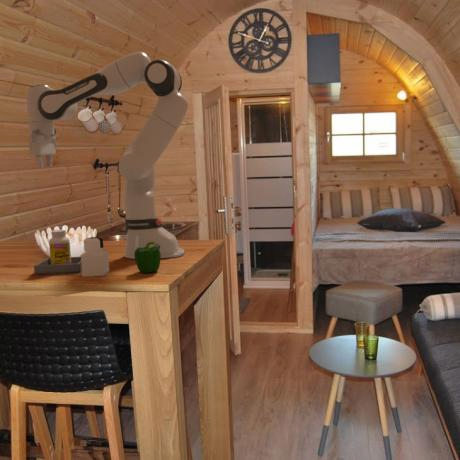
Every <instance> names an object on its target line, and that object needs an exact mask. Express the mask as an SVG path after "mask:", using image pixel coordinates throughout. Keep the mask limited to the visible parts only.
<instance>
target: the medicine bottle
mask: <svg viewBox="0 0 460 460" xmlns="http://www.w3.org/2000/svg"><path fill="white" fill-rule="evenodd" d="M83 248H84V253H82V254H81V255H80V257H81V268H82V272H81V277H83V278H86V277H88V278H90V277H94V276H95V277H105V275H107V274H108V273H109V272H110V262H109V251H108V250H104V239H103V238H102V237H100V236H91V237H90V236H89V237H87V238H84V240H83ZM95 277H94V278H95Z"/></svg>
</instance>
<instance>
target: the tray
mask: <svg viewBox="0 0 460 460" xmlns="http://www.w3.org/2000/svg"><path fill="white" fill-rule="evenodd" d="M33 270H34V271H33V272H34V275H35V276H38V275H39V276H40V275H59V274H61V273H65V274H81V273H82V272H81V271H82V268H81V256H71V264H53V265H51V258H50V257H46V258H44V259H43V260H41V261H40V262H38V263H36V264H35V265H34V266H33ZM61 275H62V274H61Z"/></svg>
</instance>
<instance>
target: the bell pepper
mask: <svg viewBox="0 0 460 460" xmlns="http://www.w3.org/2000/svg"><path fill="white" fill-rule="evenodd" d="M154 243H155V242H154V241H151V242H148V243H147V245H146V247H144V248H137V249H136V250H135V253H134V254H135V259H134V260H135V264H136V266H137V270H138V271H139V272H140V273H141V274H150V273H155V272H157V271H158V270H159V269H160V266H161V265H160V264H161V260H162V258H161V252H160V250H159V248H158V247H151V248H149V245H150V244H154Z"/></svg>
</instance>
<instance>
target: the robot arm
mask: <svg viewBox="0 0 460 460" xmlns="http://www.w3.org/2000/svg"><path fill="white" fill-rule="evenodd" d="M141 84H147V86H148V88H149V89H150V90H151V91H152V92H153V93H154V95H156V96H157V97H158V99H157V103H156V105H155V107H154V108H153V110H152V111H151V113H150V114H149V116H148V118H147V119H146V121H145V122H144V124H143V126H142V128H141V130H140V131H139V132H138V133H137V135H136V136H135V138H134V139H133V140H132V142H131V143H130V144H129V146H128V147H127V149H126V150H125V152H124V153H123V155H122V156H121V157H120V159H119V161H118V171H119V173H120V175H121V177H123V178H124V179H125V190H124V192H125V193H124V209H125V210H124V211H125V219H124V230H125V234H126V241H125V242H126V243H125V249H124V256H123V257H124V258H125V259H132V260H135V254H134V253H135V250H136V249H137V248H144V247H146V245H147V243H148V242H151V241H154V242H155V243H154V244H150V245H149V248H151V247H158V248H159V250H160V252H161V259H171V258H179V257H181V256H183V255H185V249H184V248H182V247H179V243H178V240H177V237H176V236H175V235H174V234H173V233H171V232H169V231H168V230H167V229H165V228H164V227H162V226H163V224H162V223H163V221H162V218H159V217H157V215H156V214H157V213H156V201H155V200H156V198H155V197H156V196H155V190H156V163H157V161H158V160H159V159H160V157H161V156H162V154H163V153H164V152H165V150H166V149H167V148H168V146H169V144H170V143H171V141H172V139H173V138H174V136H175V135H176V134H177V131H178V129H179V128H180V126H181V125H182V123H183V120H184V118H185V116H186V114H187V111H188V108H189V102H188V100H187V98H186V97H185V96H184V95H183V94H181V92H180V91H181V88H182V85H183V80H182V77H181V75H180V73H179V72H178V70H177V69H176V67H174V66H173V65H172V64H170V62H168V61H166V60H163V59H154V60H151V58H150V56H148V55H147V53H145V52H143V51H136V52H132V53H129V54H127V55H124V56H122V57H119V58H118V59H116V60H114V61H112V62H111V63H109V64H107V65H105V66H104V67H103V68H100V69H99V70H97V71H96V72H94V73H92V74H91V75H89V76H87V77H85V78H82V79H80V80H78V81H76V82H74V83H72V84H69V85H67V86H66V87H64V88H61V89H56V90H55V89H53V88H52V87H50V86H49V85H47V84H37V85H33V86H31V87H29V88H28V90H27V94H26V108H27V109H26V110H27V113H28V121H27V122H28V131H29V132H28V133H29V136H28V138H29V139H28V143H29V146H28V147H29V149H28V150H29V154H30V156H34V158H35V162H36V166H37V168H38V169H39V168H42V169H43V168H44V162H43V156H45V167H46V168H51V167H52V159H53V155H56V152H57V137H56V136H57V134H58V131H57V129H56V128H55V125H54V124H55V123H54V121H56V120H57V121H58V120H59V121H69V120H71V119H74V118H75V117H76V116H77V114H78V111H79V104H78V103H80V102H83V101H85V100H86V99H89V98H91V97H94V96H100V95H102V96H104V95H106V96H114V95H115V96H116V95H118V94H122V93H124V92H127V91H130V90H131V89H133V88H135V87H137V86H139V85H141Z"/></svg>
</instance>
